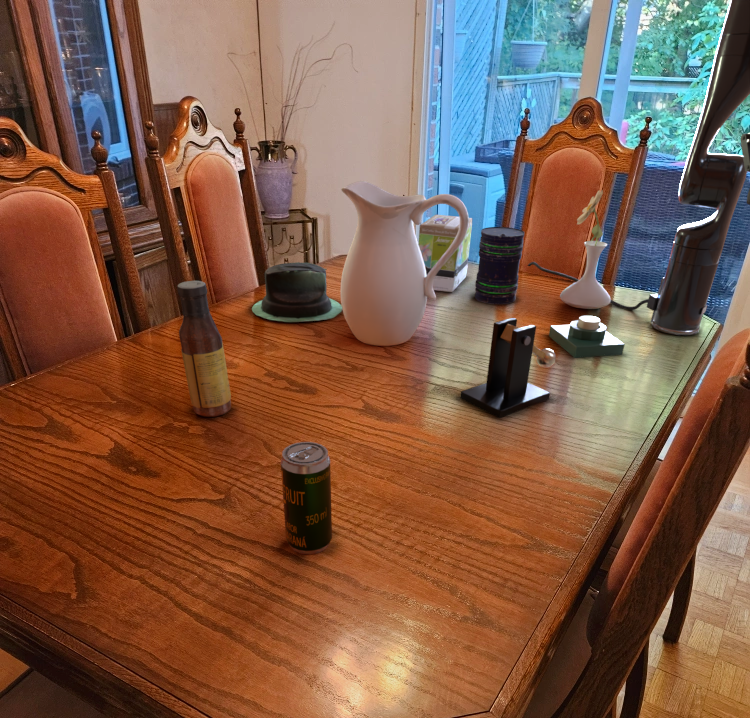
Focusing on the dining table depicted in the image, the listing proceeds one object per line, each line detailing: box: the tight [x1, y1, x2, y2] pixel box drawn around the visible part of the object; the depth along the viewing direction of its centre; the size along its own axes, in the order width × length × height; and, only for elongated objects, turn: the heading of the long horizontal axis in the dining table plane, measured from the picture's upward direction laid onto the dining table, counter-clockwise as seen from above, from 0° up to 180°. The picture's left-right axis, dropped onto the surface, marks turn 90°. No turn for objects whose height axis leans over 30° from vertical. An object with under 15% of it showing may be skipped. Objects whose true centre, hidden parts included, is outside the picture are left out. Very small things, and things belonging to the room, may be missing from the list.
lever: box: [501, 324, 557, 369], centre depth 109 cm, size 14×3×3 cm
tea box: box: [418, 214, 473, 293], centre depth 163 cm, size 15×10×15 cm
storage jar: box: [474, 226, 525, 305], centre depth 153 cm, size 10×10×15 cm
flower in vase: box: [559, 189, 612, 310], centre depth 146 cm, size 13×11×25 cm
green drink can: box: [280, 441, 333, 555], centre depth 75 cm, size 5×5×12 cm
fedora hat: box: [251, 261, 343, 323], centre depth 146 cm, size 15×19×20 cm
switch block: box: [548, 319, 626, 359], centre depth 132 cm, size 12×10×4 cm
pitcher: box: [340, 180, 470, 347], centre depth 126 cm, size 24×17×28 cm
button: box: [578, 315, 601, 330], centre depth 130 cm, size 4×4×2 cm
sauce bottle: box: [176, 280, 232, 418], centre depth 100 cm, size 7×6×20 cm
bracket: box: [459, 317, 551, 419], centre depth 108 cm, size 12×9×13 cm
